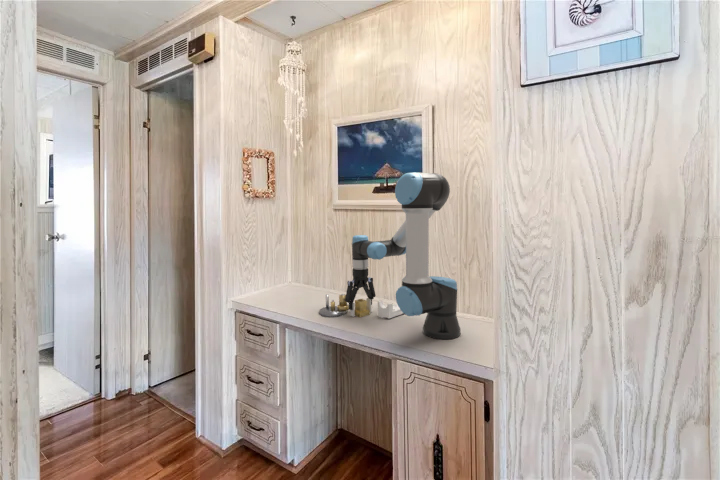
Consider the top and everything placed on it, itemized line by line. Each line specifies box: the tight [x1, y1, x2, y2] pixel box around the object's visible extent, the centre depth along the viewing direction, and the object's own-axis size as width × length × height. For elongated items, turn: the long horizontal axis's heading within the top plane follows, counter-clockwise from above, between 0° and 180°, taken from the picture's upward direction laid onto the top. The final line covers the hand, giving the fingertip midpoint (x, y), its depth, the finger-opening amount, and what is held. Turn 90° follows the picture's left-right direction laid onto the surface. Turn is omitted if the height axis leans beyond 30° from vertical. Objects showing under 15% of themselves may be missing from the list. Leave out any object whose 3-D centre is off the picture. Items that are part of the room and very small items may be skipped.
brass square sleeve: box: [354, 298, 371, 318], centre depth 177 cm, size 6×6×7 cm
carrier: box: [319, 293, 350, 318], centre depth 180 cm, size 13×14×9 cm
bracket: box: [377, 300, 404, 319], centre depth 176 cm, size 13×7×8 cm, turn 134°
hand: (360, 314), depth 178 cm, fingers open, 9 cm apart
